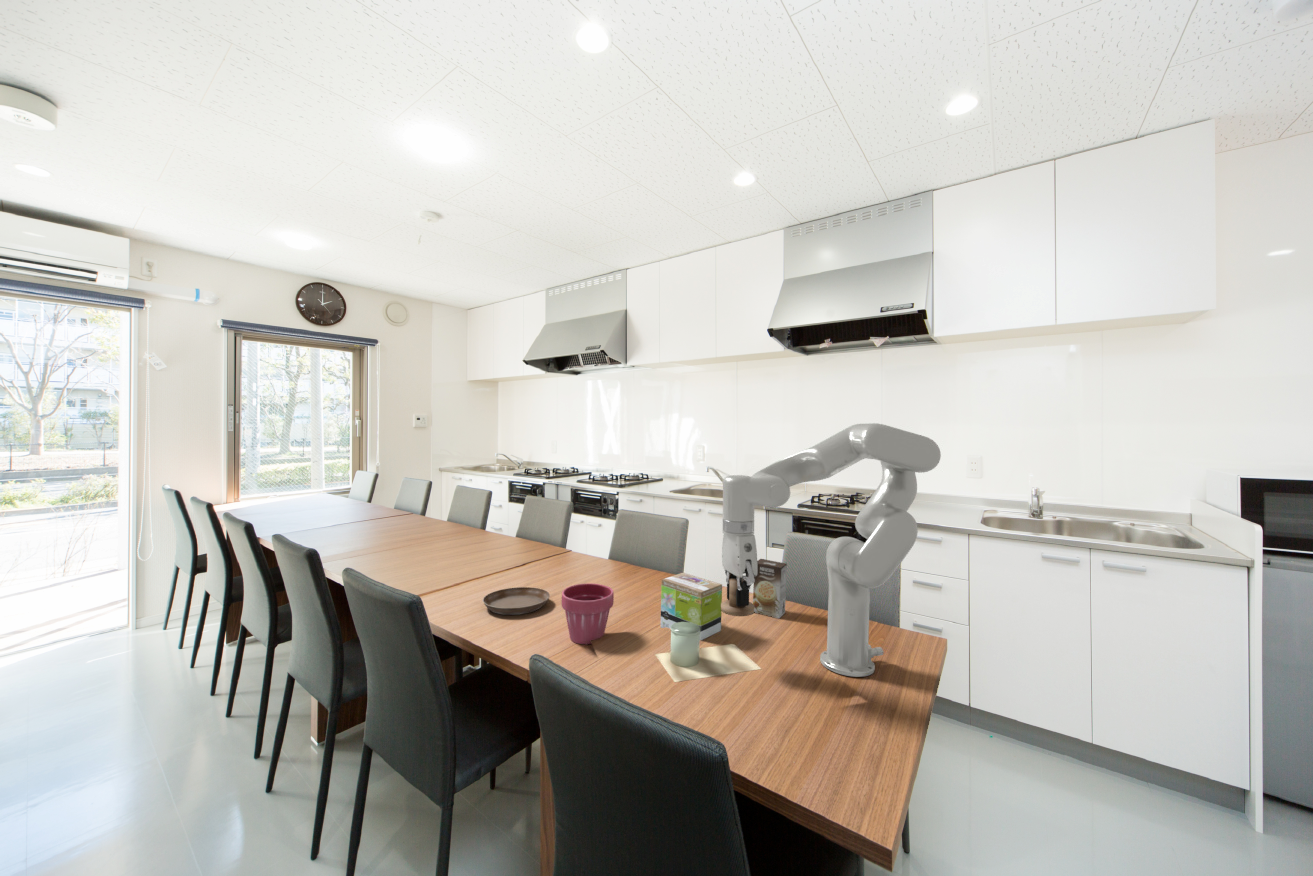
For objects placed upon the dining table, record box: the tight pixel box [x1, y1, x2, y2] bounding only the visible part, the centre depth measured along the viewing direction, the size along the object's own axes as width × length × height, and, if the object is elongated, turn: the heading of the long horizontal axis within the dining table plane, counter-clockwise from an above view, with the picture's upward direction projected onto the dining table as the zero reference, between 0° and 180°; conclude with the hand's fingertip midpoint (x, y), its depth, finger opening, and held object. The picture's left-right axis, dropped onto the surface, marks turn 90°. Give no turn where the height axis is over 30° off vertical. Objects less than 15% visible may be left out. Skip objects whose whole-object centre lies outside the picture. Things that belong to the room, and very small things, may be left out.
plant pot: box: [561, 582, 615, 645], centre depth 132 cm, size 14×14×13 cm
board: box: [654, 643, 762, 683], centre depth 118 cm, size 22×14×1 cm, turn 109°
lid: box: [721, 578, 755, 617], centre depth 117 cm, size 8×8×7 cm
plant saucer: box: [482, 586, 551, 616], centre depth 155 cm, size 21×21×3 cm
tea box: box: [660, 572, 723, 641], centre depth 138 cm, size 15×10×15 cm, turn 47°
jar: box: [670, 622, 701, 667], centre depth 118 cm, size 7×7×8 cm
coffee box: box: [752, 558, 788, 619], centre depth 154 cm, size 9×6×16 cm
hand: (737, 601), depth 117 cm, fingers closed on lid, 4 cm apart
